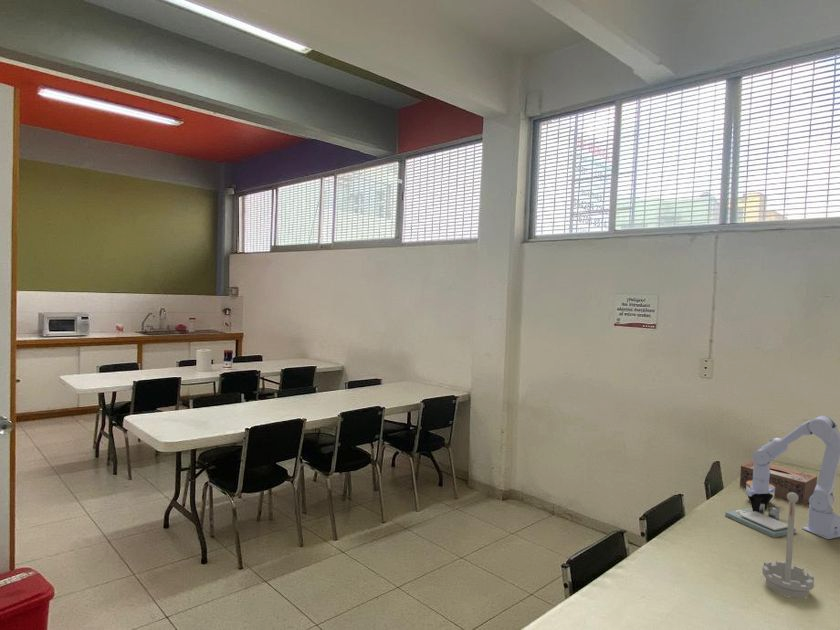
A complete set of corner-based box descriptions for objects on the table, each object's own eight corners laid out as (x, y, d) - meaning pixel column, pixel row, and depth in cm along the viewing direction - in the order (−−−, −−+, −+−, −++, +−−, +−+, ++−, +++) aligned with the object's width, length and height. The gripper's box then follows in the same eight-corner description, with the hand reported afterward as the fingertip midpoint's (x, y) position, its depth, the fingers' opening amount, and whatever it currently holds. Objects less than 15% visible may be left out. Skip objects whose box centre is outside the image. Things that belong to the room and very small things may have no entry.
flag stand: (764, 572, 172) (770, 481, 171) (814, 587, 164) (820, 492, 163) (758, 589, 162) (764, 492, 161) (811, 606, 154) (818, 504, 153)
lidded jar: (780, 507, 226) (781, 486, 225) (754, 506, 226) (755, 485, 226) (764, 497, 237) (765, 477, 236) (740, 496, 237) (741, 476, 236)
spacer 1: (766, 515, 217) (767, 503, 217) (760, 516, 216) (761, 504, 215) (757, 512, 220) (758, 500, 220) (751, 513, 219) (752, 501, 219)
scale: (795, 533, 202) (795, 526, 202) (774, 537, 197) (774, 531, 197) (745, 512, 220) (746, 505, 220) (725, 515, 216) (725, 509, 216)
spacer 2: (780, 521, 212) (781, 509, 211) (774, 523, 210) (775, 510, 210) (772, 518, 215) (772, 506, 215) (766, 519, 214) (766, 507, 213)
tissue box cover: (739, 486, 250) (740, 465, 250) (752, 480, 259) (753, 460, 258) (804, 505, 230) (805, 482, 229) (815, 498, 238) (817, 476, 238)
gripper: (763, 473, 224) (761, 504, 224) (739, 477, 218) (737, 509, 219) (780, 479, 217) (778, 511, 218) (755, 483, 212) (753, 516, 213)
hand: (759, 510), depth 218 cm, fingers closed on spacer 1, 3 cm apart
